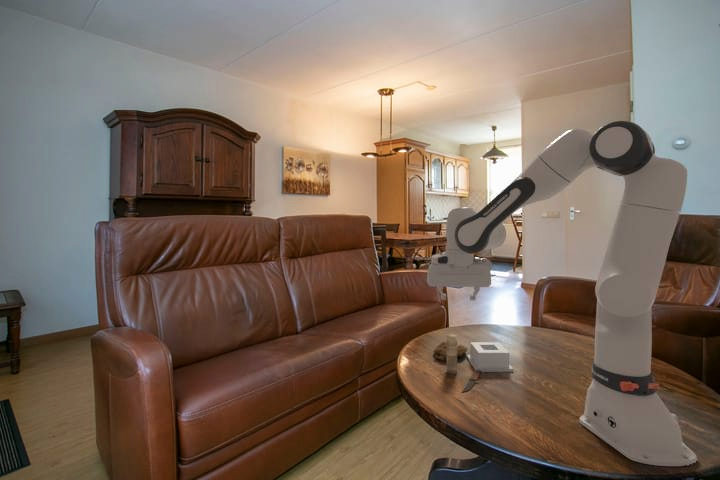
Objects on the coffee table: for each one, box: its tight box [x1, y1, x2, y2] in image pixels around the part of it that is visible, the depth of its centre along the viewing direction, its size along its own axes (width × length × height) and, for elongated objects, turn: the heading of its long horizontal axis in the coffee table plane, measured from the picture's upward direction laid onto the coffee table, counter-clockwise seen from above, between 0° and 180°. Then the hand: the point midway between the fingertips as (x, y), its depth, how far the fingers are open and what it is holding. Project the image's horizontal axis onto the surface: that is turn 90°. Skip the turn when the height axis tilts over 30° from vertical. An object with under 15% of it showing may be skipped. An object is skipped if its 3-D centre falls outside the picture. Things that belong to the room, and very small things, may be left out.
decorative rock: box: [432, 341, 468, 361], centre depth 134 cm, size 11×4×15 cm
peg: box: [446, 333, 458, 375], centre depth 119 cm, size 3×3×12 cm
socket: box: [466, 341, 514, 373], centre depth 125 cm, size 12×12×6 cm
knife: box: [461, 370, 483, 393], centre depth 112 cm, size 17×1×3 cm
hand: (458, 299), depth 119 cm, fingers open, 8 cm apart
